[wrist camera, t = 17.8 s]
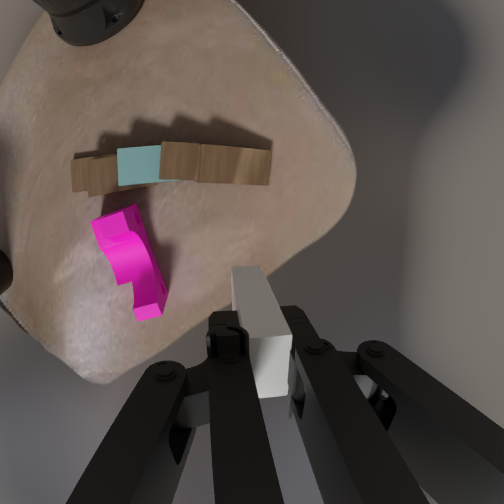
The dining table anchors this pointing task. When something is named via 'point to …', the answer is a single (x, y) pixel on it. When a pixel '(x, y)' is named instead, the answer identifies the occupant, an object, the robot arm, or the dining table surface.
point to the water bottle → (5, 273)
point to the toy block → (132, 259)
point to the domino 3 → (139, 165)
